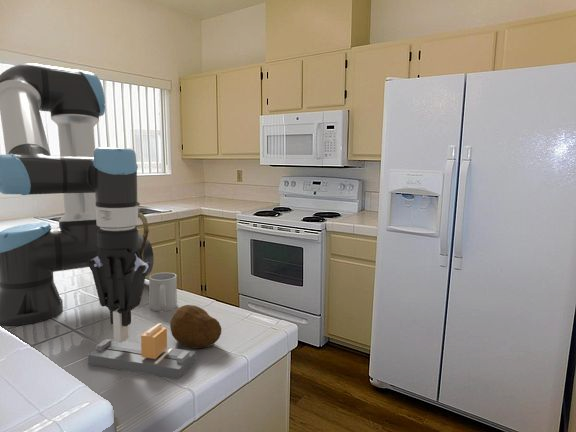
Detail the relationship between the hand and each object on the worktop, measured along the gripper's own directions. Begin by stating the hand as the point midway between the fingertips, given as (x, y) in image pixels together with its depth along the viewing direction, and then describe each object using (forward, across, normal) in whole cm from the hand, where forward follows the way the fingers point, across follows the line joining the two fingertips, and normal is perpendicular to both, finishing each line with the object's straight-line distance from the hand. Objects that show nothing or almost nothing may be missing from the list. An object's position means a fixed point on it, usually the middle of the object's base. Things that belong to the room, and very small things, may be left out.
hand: (121, 339), depth 79 cm
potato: (+4, +11, +10) cm, 15 cm away
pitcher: (+5, -25, +40) cm, 48 cm away
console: (+4, +5, 0) cm, 7 cm away
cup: (+5, -6, +26) cm, 27 cm away
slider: (+2, +8, 0) cm, 8 cm away
